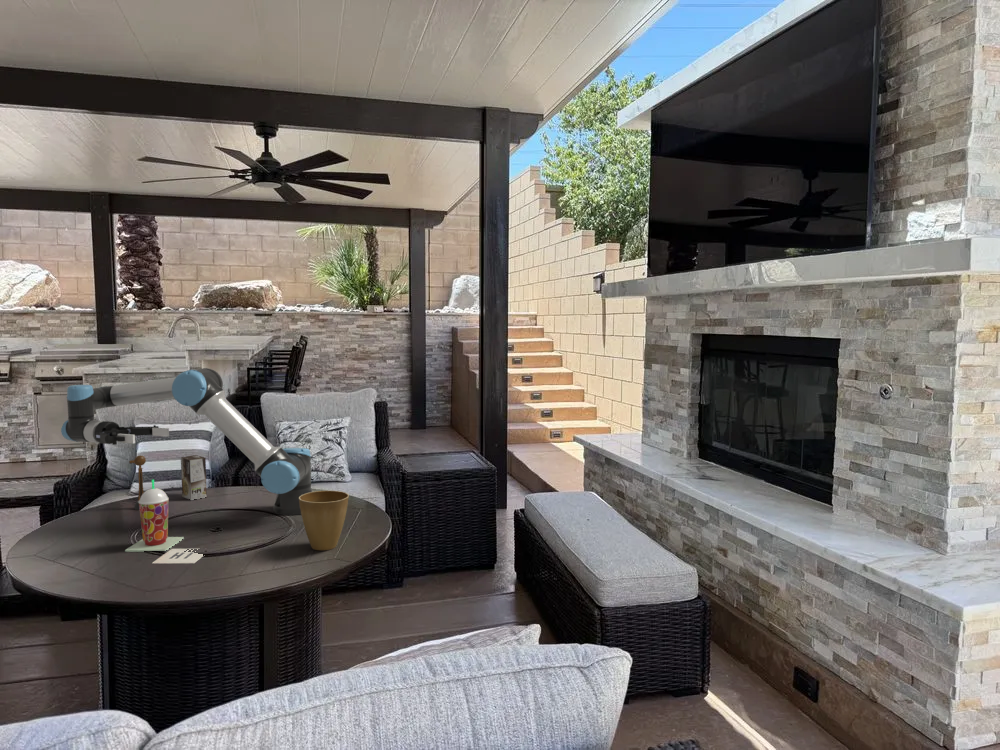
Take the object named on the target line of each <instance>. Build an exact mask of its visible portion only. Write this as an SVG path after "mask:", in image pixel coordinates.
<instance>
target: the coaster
mask: <svg viewBox="0 0 1000 750" xmlns="http://www.w3.org/2000/svg"><path fill="white" fill-rule="evenodd" d="M182 539H183V540H185V538H184V536H168V538H166V542H165V543H163V544H160V545H155V546H148V545H146V544H145V542H144V541H143V538H142V539H140V540H139V541H137V542H135V543H134V544H133V545H131V546H129V547H127V548H126V549H125V550H124V552H125V553H131V552H132V553H137V552H138V553H144V551H166V550H167V551H169V550H170V549H172V548H173V547H175V544H176V545H178V544H179V543H180V542H181V541H183V540H182ZM179 541H180V542H179ZM172 546H173V547H172ZM169 548H170V549H169ZM167 551H166V552H167Z"/></svg>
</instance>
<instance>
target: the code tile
mask: <svg viewBox="0 0 1000 750" xmlns="http://www.w3.org/2000/svg"><path fill="white" fill-rule="evenodd" d="M187 549H189V550H191V549H193V550H194V549H195V548H170V549H168V550H167V551H166V552H165V553H164V554H162V555H161V556H160V557H158V558H157V559H156V560H154V561H153V562H152V563H151V564H153V565H154V564H155V565H157V564H161V565H162V564H163V565H165V564H169V565H170V564H171V565H172V564H173V565H174V564H176V565H177V564H179V565H181V564H184V565H185V564H186V565H187V564H195V563H197V562H198V561H199V560H200V559H202V558H203V557H204V556H203V554H198V553H194V552H192V551H193V550H191V552H188V551H189V550H187ZM196 549H197V550H198V549H199V548H196ZM186 550H187V551H186ZM184 551H186V552H184ZM195 552H196V551H195Z"/></svg>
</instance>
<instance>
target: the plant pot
mask: <svg viewBox="0 0 1000 750" xmlns="http://www.w3.org/2000/svg"><path fill="white" fill-rule="evenodd" d="M349 497H350V494H349V493H348V492H344V491H340V490H318V491H312V492H310V493H306V494H303V495H301V496H300V497H299V503H300V510H301V514H300V516H301V519H302V523H303V526H304V530H305V533H306V536H307V539H308V541H309V544H310V547H311V549H313V550H315V551H329V550H334V549H335V548H336V547H337V546H338V543H339V540H340V538H341V534H342V532H343V531H342V530H343V527H344V524H345V519H346V515H347V510H348V506H349V505H348V504H349Z"/></svg>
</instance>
